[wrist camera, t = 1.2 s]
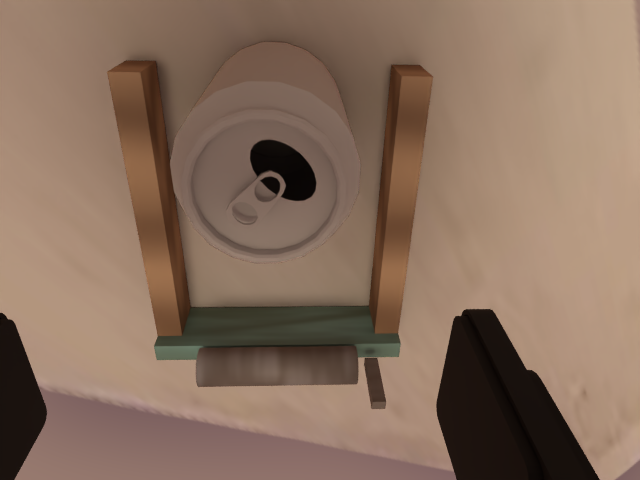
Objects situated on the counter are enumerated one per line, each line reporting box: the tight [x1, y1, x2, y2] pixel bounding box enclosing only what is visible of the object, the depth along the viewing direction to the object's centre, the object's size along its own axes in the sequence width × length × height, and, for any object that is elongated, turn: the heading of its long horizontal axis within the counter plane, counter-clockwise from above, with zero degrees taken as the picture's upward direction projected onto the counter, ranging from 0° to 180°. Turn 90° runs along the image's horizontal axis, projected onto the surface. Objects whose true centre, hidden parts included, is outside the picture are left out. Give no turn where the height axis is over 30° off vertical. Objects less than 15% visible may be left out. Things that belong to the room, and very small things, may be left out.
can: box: [170, 42, 361, 263], centre depth 23 cm, size 8×8×12 cm
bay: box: [107, 61, 433, 409], centre depth 28 cm, size 19×16×9 cm
